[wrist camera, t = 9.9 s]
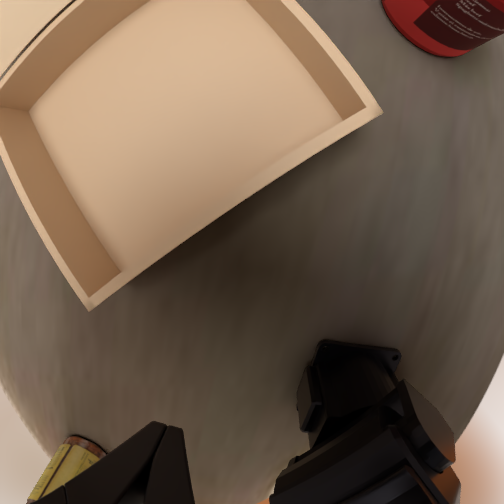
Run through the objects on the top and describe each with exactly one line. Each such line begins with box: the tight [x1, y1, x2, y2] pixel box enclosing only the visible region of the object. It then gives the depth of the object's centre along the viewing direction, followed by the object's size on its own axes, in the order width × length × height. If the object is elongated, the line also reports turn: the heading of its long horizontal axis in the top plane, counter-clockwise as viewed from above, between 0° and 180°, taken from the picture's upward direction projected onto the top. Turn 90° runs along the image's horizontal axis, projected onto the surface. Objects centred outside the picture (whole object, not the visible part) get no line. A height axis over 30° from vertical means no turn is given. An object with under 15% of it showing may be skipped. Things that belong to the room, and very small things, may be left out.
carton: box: [0, 0, 383, 311], centre depth 15 cm, size 16×18×5 cm
